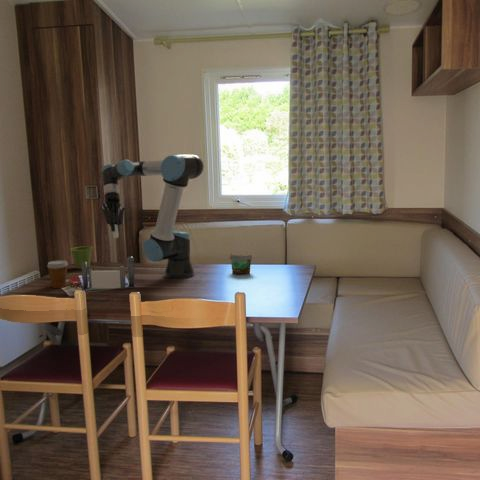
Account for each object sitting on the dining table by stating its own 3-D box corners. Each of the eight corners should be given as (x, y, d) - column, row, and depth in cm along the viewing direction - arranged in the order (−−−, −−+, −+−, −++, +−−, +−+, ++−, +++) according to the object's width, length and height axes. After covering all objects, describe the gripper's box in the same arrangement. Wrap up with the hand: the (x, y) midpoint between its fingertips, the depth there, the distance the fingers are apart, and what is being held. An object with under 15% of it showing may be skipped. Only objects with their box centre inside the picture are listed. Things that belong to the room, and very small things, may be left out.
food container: (226, 274, 271) (225, 255, 269) (230, 271, 277) (230, 253, 275) (248, 276, 266) (247, 257, 265) (252, 273, 272) (252, 254, 270)
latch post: (136, 285, 251) (134, 255, 248) (135, 287, 247) (133, 256, 245) (128, 286, 250) (126, 255, 248) (127, 288, 247) (126, 257, 244)
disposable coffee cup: (63, 289, 247) (61, 264, 245) (44, 288, 249) (42, 264, 247) (73, 284, 256) (71, 260, 254) (55, 283, 258) (53, 259, 256)
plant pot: (84, 264, 300) (83, 245, 298) (98, 267, 293) (97, 247, 291) (67, 268, 291) (65, 248, 289) (80, 271, 284) (79, 251, 282)
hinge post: (90, 287, 249) (88, 261, 246) (89, 289, 245) (87, 262, 243) (82, 288, 248) (80, 261, 246) (81, 290, 245) (79, 263, 242)
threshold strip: (127, 286, 250) (127, 285, 250) (126, 288, 247) (126, 287, 247) (91, 288, 248) (91, 287, 248) (90, 289, 245) (90, 289, 245)
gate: (88, 288, 245) (87, 267, 243) (90, 286, 248) (88, 266, 246) (124, 288, 244) (123, 267, 242) (126, 286, 247) (125, 266, 245)
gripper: (118, 198, 275) (123, 240, 269) (96, 194, 266) (100, 238, 259) (126, 193, 270) (131, 236, 264) (104, 189, 261) (108, 234, 254)
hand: (116, 237), depth 261 cm, fingers closed
